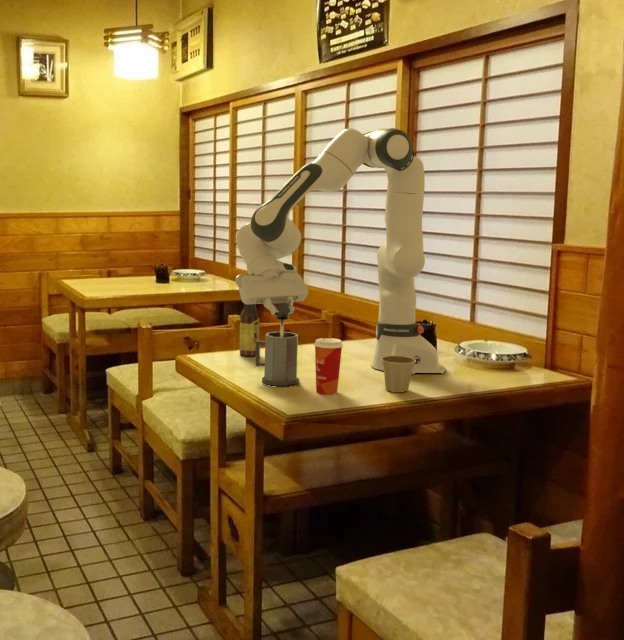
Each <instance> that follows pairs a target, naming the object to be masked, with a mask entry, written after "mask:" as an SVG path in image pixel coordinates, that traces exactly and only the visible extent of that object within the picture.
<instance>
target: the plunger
mask: <svg viewBox="0 0 624 640" xmlns="http://www.w3.org/2000/svg"><path fill="white" fill-rule="evenodd" d="M275 306H277V307H278V310H279V313H278V314H277V315H275V319H276V320H280V325H279V327H280V328H279V332H280V337H283V334H284V332H285V331H284V327H285V320H290V314H289V304H287V303H286V302H280V303H275Z"/></svg>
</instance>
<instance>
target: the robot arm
mask: <svg viewBox="0 0 624 640" xmlns="http://www.w3.org/2000/svg"><path fill="white" fill-rule="evenodd" d="M362 165H364V166H366V167H369V168H372V169H375V168H376V169H384V170H385V173H386V176H387V187H386V188H387V189H386V198H385V211H384V223H385V232H386V241H384V242H383V243H382V244H381V245H380V246H379V248H378V249H377V253H376V258H377V259H376V261H377V277H378V279H377V281H378V291H379V301H378V302H379V304H378V320H377V322H376V325H375V327H376V328H375V337H376V338H375V339H376V346H375V350H374V354H373V357H372V362H371V365H370V367H371V368H373V369H375V370H378V371H383V372H384V366H383V363H382V360H381V358H382V357H385V356H405V357H410V358H413V359H415V360H416V362H415V363H414V367H413V369H412V374H411V375H416V374H415V373H442V372H444V371H445V372H446V367H445V365H444V364H443V363H441V362H440V361H439V355H438V351H437V349H436V347H435V346H433V344H432V343H430V342H429V341H428V340H427V339H426V338H424V337H423V336H422V334H423V333H424V331H425V329H424V327H423V326H422V325H421V324H419V323H417V322H416V308H417V295H416V291H415V281H414V277H416V276H418V275H420V273H421V272H422V271H423V269H424V268H425V263H426V262H425V261H426V260H425V255H424V254H425V253H424V237H423V211H424V199H425V179H426V178H425V170H424V169H425V168H424V163H423V161H422V160H421V159H420V158H419V157H417V156H415V152H414V149H413V144H412V140H411V139H410V136H409V135H408V134H407V133H406V132H404V131H403V130H402V129H399V128H396V127H395V128H394V127H393V128H380V129H377V130H373V131H369V132H368V131H367V132H365V133H364V134H363V133H362V132H360V131H359V130H358V129H354V128H349V127H348V128H345V129H343V130H341V131H340V132H338V134H337V135H335V137H333V139H332V140H331V141H330V142H329V143H328V144H327V145H326V146H325V148H324V149H323V150H322V151H321V153H319V155H318V156H317V157H316V158H315V159H314V160H313V161H312V162H310V163H307V164H305V165H304V166H302V167H301V168H299V169H298V171H296V172H295V174H293V176H292V177H290V179H289V180H288V181H287V182H286V183H285V184H283V186H282V187H281V188H280V189H279V190H278V191H277V192H276V193H275V194H274V195H273V196H272V197H271V198H270V199H269V200H267V201H266V202H264V203H262V204H261V205H260V206H259V207H258V208H256V209H255V210H254V211H253V212H254V213H253V214H252V216H251V219H250V222H248V223H245V224H244V225H242V226H241V227H240V228H239V230H238V231H237V233H236V239H235V240H236V245H237V249H238V252H239V254H240V257H241V259H242V261H243V262H244V263H245V265H246V270H247V273H245V274H243V273H241V274H238V275H236V277H235V278H234V280H235V281H234V282H235V284H236V285H237V287H238V292H239V295H240V299H241V302H242V303H243V304H244V303H245V304H246V305H249V304H256V305H259V304H260V305H261V304H263V306H264V308H266V309H267V310H268V311H269V312H270V314H271V315H272V316H276V315H277V314H278V313H279V310H278V307H277V306H276V305H274V304H277V303H287V304H289V315H292V314H294V313H295V308H294V302H296V303H297V302H303V301H305V299H306V298H307V297H308V295H309V288H308V287H307V285H306V283H305V281H304V279H303V277H302V276H301V274H299V273H298V272H297V270H298V268H297V266H296V265H295V264H291V263H287V262H284V261H281V259H282V258H284V257H287V256H290V255H291V254H293V253H294V252H296V250H298V249H299V248H300V245H301V242H302V232H301V231H300V229H299V228H298V227H297V225H296V224H295V223H294V222H293V221H292V220H291V219H290V218H289V215H290V212H291V211H292V210H293V209H294V208H295V207H296V206H297V205H298V204H299V202H300V201H301V200H302V199H303V198H305V196H306V195H307V194H308V193H310V192H312V191H320V192H324V193H335V192H339V191H340V190H341V189H343V188H344V187H345V186H346V185H347V184H348V183H349V181H350V180H351V179H352V177H353V176H354V174H355V173H356V171H357V170H358V168H360V167H361V166H362ZM279 259H280V260H279ZM445 372H444V373H445ZM442 374H443V373H442Z"/></svg>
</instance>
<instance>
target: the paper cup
mask: <svg viewBox="0 0 624 640" xmlns="http://www.w3.org/2000/svg"><path fill="white" fill-rule="evenodd" d="M313 346H314V354H315V355H314V359H315V360H314V363H315V391H316V393H318V394H320V395H327V394H329V395H335V393H336V394H337V393H338V388H339V379H340V378H339V377H340V368H341V359H342V348H343V346H344V345H343V343H342V340H341V339H338V338H332V337H331V338H327V337H325V338H322V337H321V338H317V339H315V342H314V344H313Z"/></svg>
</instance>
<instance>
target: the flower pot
mask: <svg viewBox="0 0 624 640" xmlns="http://www.w3.org/2000/svg"><path fill="white" fill-rule="evenodd" d="M381 360H382V363H383V366H384V371H383V373H384V386H385V390H386V391H389V392H390V391H391V393H394V392H395V393H396V392H402V393H404V392H405V391H407V392H408V391H409V389H410V383H411V379H412V378H411V377H412V375H413V374H412V369H413V367H414V363H415V362H416V360H415V359H413V358H410V357H405V356H385V357H382V358H381Z"/></svg>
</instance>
